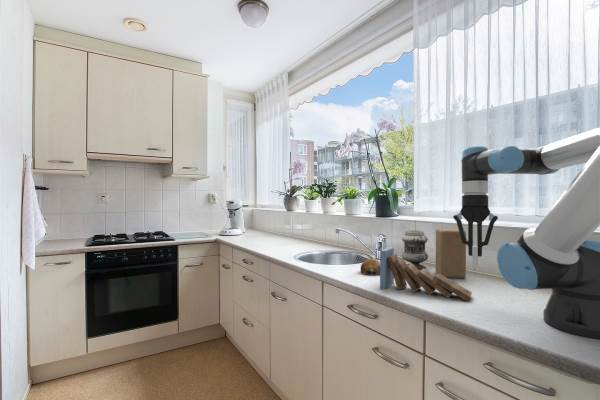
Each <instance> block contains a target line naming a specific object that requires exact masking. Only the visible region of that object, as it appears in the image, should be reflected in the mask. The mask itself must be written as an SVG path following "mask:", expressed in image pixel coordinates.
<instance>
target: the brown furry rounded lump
mask: <svg viewBox="0 0 600 400" xmlns="http://www.w3.org/2000/svg"><path fill="white" fill-rule="evenodd" d="M360 272H361V274H363V275H367V276H380V260H379V261H378V260H377V259H374V258H370V259H366V260H365V261H363V262H362V263H361V264H360Z"/></svg>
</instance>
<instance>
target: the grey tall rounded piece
mask: <svg viewBox="0 0 600 400" xmlns="http://www.w3.org/2000/svg"><path fill="white" fill-rule="evenodd" d="M428 240H429V239H428V237H427V236H426V233H425V231H424V230H420V229H409V230H407V229H406V230H405V232H404V234H403V235H402V236H401V241H402V242H403V244H404V245H403V246H404V247H403V248H404V249H403V250H404V251H403V252H402V253H401V257H402V258H403V259H404V261H405V262H408V263H406V264H407V265H409V264H410V263H412V264H413V265H414V266H415V267H416V268H417V269H418V270H419V271H421V270H422V269H423V268H424V269H425V270H427V268H426V266H425V265H423V264H421V263H423V262H426V261H427V260H428V259H429V255H428V253H427V252H426V244H427V242H428Z"/></svg>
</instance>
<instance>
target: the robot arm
mask: <svg viewBox="0 0 600 400" xmlns="http://www.w3.org/2000/svg"><path fill="white" fill-rule="evenodd" d="M460 162H461V194H463V195H462V196H461V209H460V212H459V213H456V214H455V215H453V220H454V221H455V222H456V225H457V227H458V228H457V229H459V233H460V236H461V240H462V243H463V244H466V246H467V247H468V251H467V252H468V253H467V254H468V256H469V257H471V259H472V260H471V261H472V262H471V263H472V264H471V265H472V267H474V268H478V267H479V257H482V256H483V247H484V246H488V245H489V242H490V239H491V237H492V236H491V235H492V232H493V229H494V225H495V222H497V220H499V217H498V215H494V214H493V213H491V210H490V209H489V195H488V194H489V175H490V176H491V175H499V174H501V175H502V174H504V175H505V174H506V175H507V174H508V175H509V174H512V175H513V174H514V175H518V174H520V175H521V174H522V175H523V174H524V175H542V176H543V175H550V174H555V173H557V172H558V171H559V170H560V169H564V168H570V167H572V166H577V165H582V164H584V166H583V167H582V168H581V169H580V170H579V172H578V173H577V174H576V176H575V177H574V179H573V180H572V181H571V182H570V184H569V185H568V187H566V189H565V190H564V191H563V193H562V195H561V196H560V197H559V198H558V199H557V201H556V202H555V203H554V205H553V206H552V207H551V209H550V210H549V211H548V213H546V215H545V216H544V218H543V219H542V220H541V222H540V223H539V224H538V226H537V227H531V228H527V229H526V230H524V232H522V234H521V235H520V237H519V238H518V240H517V241H515V242H513V241H509V242H506V243H503V244H502V245H501V246H500V247H499V248H498V250H497V254H496V261H497V267H498V269H499V272H500V274H501V276H502V277H503V279H504V280H505V281H506V282H507V283H508V284H509V285H510V286H512V287H514V288H515V289H519V290H528V291H533V290H544V289H545V290H549V289H550V290H551V293H550V296H549V298H548V301H547V303H546V305H545V308H544V310H543V313H542V314H543V318H542V319H543V322H545V323H546V324H547V325H549V326H552V327H553V328H555V329H558V330H561V331H563V332H567V333H570V334H573V335H578V336H581V337H586V338H592V339H598V340H600V240H599V241H597V240H590V239H588V238H589V237H591V235H593V234H594V232H596V230H597V229H598V228H599V227H600V127H597V128H594V129H591V130H589V131H588V130H587V131H585V132H581V133H580V134H576V135H573V136H569V137H567V138H564V139H561V140H558V141H555V142H552V143H550V144H547V145H546V144H545V145H542V146H540V147H536V148H518V147H517V146H516V145H507V146H506V145H505V146H503V145H502V146H498V147H496V148H492V149H488V147H487V146H484V145H478V146H477V145H475V146H470V147H465V148H463V150H462V152H461V160H460ZM462 217H463V218H464V219H465V221H466V222H467V228H468V230H467V235H468V236H467V235H466V236H465V232H466V231H465V230H464V226H463V222H462V219H463V218H462ZM488 217H489V218H488ZM487 218H488V220H489V224H488V227H487V230H486V234H485V238H484V241H483V222H484V221H486V219H487ZM474 223H476V228H477V229H476V231H477V233H476V235H477V237H476V238H477V239H476V240H477V242H476V244H477V245H474ZM464 231H465V232H464Z"/></svg>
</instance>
